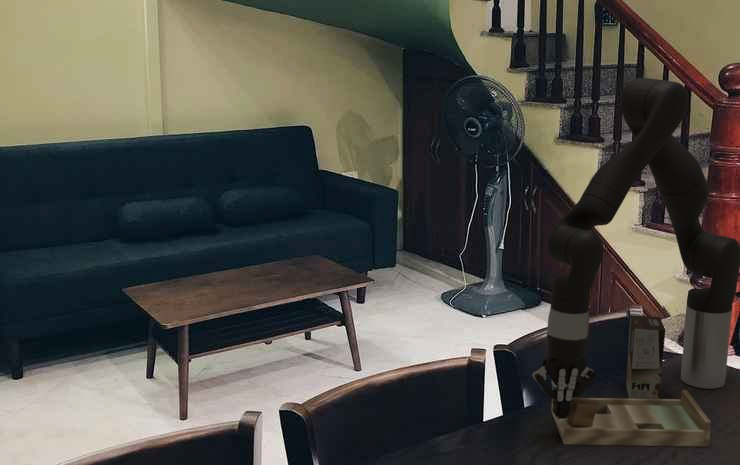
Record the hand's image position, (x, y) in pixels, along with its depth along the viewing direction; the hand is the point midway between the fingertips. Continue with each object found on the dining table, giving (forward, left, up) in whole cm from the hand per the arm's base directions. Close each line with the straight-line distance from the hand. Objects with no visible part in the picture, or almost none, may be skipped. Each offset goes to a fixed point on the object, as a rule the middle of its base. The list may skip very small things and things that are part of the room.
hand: (560, 417), depth 169 cm
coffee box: (-20, +21, -4) cm, 29 cm away
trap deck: (-3, +13, -4) cm, 14 cm away
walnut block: (-1, +4, -1) cm, 4 cm away
